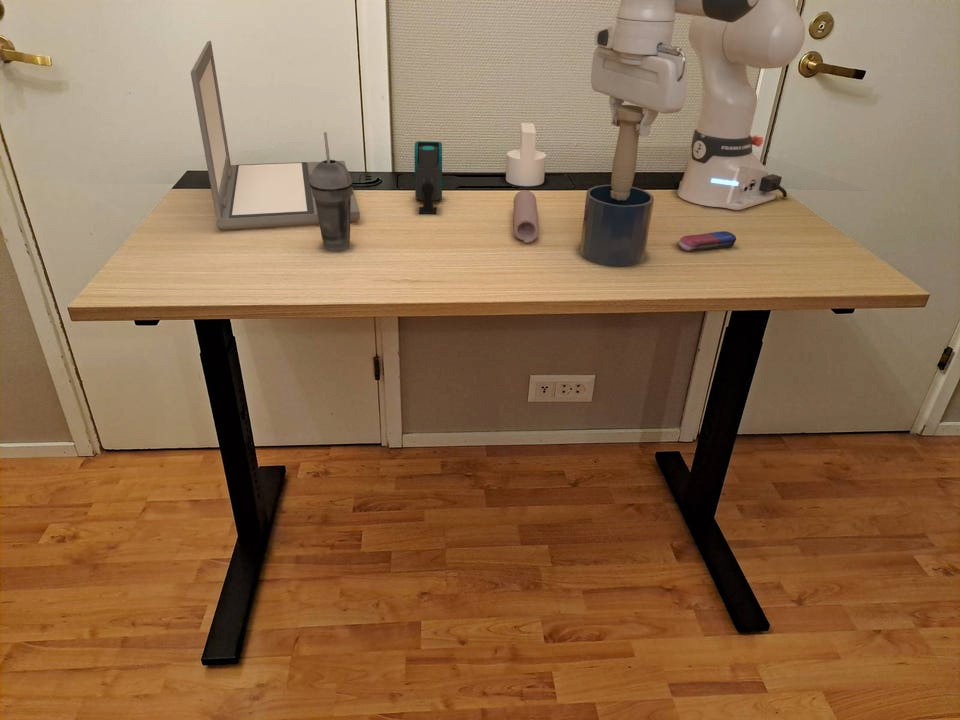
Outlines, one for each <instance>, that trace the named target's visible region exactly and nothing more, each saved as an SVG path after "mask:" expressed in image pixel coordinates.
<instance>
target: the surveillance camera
mask: <svg viewBox="0 0 960 720" xmlns="http://www.w3.org/2000/svg"><path fill="white" fill-rule="evenodd" d="M413 154H414V194H415V199H416V200H419V201H423V205H422V206H419V208H418V209H419V210H418V215H437V211H438V207H436V206H434V204H433V201H439V200H441V199H443V142H442V141H426V140H425V141H423V140H420V141H419V140H418V141H415V142H414V153H413Z"/></svg>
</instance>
